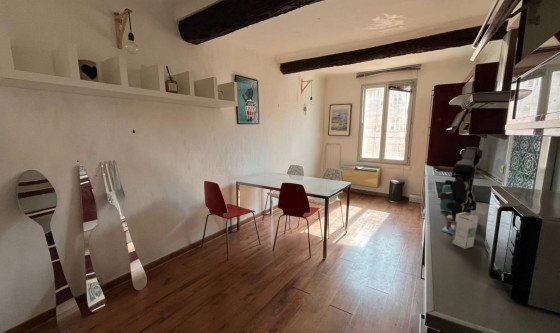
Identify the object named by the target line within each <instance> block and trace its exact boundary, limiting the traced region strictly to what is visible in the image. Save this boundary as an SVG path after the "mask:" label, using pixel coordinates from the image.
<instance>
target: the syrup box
mask: <svg viewBox="0 0 560 333" xmlns="http://www.w3.org/2000/svg"><path fill="white" fill-rule="evenodd" d="M478 222H479V216H478V215H475V214H473V213H471V214H470V213H466V212H463V213H458V214H456V219H455V223H454V225H455V226H454V232H453V234H452V239H451V244H453V245H455V246H458V247H460V248H462V249H464V250H467V249H470V248H473V247H474V246H475V239H476V233H477V229H478Z"/></svg>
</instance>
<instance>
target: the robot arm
mask: <svg viewBox="0 0 560 333" xmlns="http://www.w3.org/2000/svg"><path fill="white" fill-rule="evenodd" d="M461 156H462V159H461V160H459V161H457V162H456V163H455V164H454V166H453V169H452V173H451V178H454V180H453V182H452V183H451V185H450V187H451V189H452V192H443V193H442V191H441V192H440V193H439V194H438V198H439V199H440V201H441V200H446V199H450V200H451V201H450V202H448V203H447V205H446V207H447V208H448V209H449V210H451V211H450V214H451V215H452V218H453V221H455V219H456V214H458V213H463V212H466V213H470V214H472V212H474V211H477V204H478V203H477V201H476V199H475V197H476V196H475V195H474V193H473V187H474V183H475V182H474V181H475V176H476V169H477V166H478V165H479V164H480V163H481V161H482V160H483V158H484V151H483V150H481V149H479V148H478V147H476V146H475V147H474V146H473V147H472V146H467V147H465V148H464V149H463V150H462V154H461Z"/></svg>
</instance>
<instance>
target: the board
mask: <svg viewBox="0 0 560 333" xmlns="http://www.w3.org/2000/svg"><path fill="white" fill-rule="evenodd" d="M454 226H455V224H451V227H449V229H447V228H446V225H445V226H444V227H443V228H442V229H441V232H444V233H447V234H451V235H453V232H454Z"/></svg>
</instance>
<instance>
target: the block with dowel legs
mask: <svg viewBox="0 0 560 333" xmlns="http://www.w3.org/2000/svg"><path fill="white" fill-rule="evenodd" d="M445 222H446V225H445V226H446V228H447V229H449V227H451V225H452V224H455V221H453V218H452V214H448V215H447V216H446V217H445Z"/></svg>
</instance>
